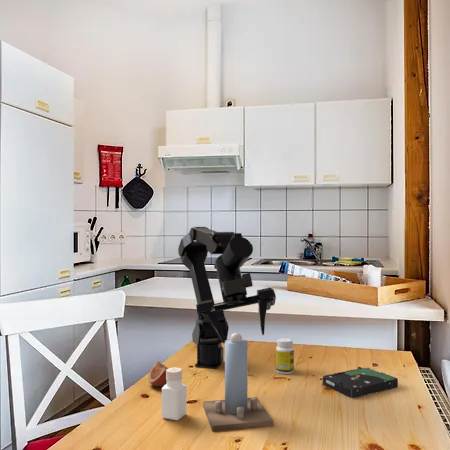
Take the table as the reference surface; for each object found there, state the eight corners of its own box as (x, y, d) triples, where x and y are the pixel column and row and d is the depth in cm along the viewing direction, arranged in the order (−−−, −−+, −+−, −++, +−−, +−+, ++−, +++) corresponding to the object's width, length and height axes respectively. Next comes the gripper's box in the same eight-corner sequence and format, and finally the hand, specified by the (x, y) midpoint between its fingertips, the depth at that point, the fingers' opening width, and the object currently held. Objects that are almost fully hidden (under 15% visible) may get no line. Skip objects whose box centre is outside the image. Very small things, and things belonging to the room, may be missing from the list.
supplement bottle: (293, 375, 118) (293, 342, 118) (275, 374, 119) (274, 341, 119) (294, 369, 122) (294, 338, 122) (276, 368, 123) (276, 337, 123)
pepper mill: (220, 410, 93) (220, 333, 93) (234, 403, 97) (234, 329, 97) (238, 416, 90) (238, 336, 90) (251, 409, 94) (251, 332, 94)
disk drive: (352, 402, 102) (398, 389, 109) (352, 389, 102) (398, 377, 109) (321, 387, 111) (366, 376, 118) (321, 375, 111) (366, 365, 118)
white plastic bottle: (187, 414, 94) (187, 368, 94) (177, 422, 90) (177, 374, 90) (170, 411, 96) (170, 365, 96) (160, 418, 92) (160, 371, 92)
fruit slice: (145, 381, 114) (145, 361, 114) (171, 377, 116) (171, 358, 116) (152, 392, 106) (152, 371, 106) (180, 388, 108) (180, 367, 108)
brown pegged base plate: (202, 406, 98) (202, 392, 98) (257, 401, 100) (257, 388, 100) (212, 431, 86) (212, 415, 86) (273, 425, 89) (273, 410, 89)
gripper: (189, 271, 105) (200, 337, 97) (268, 255, 106) (286, 319, 98) (193, 289, 114) (204, 350, 107) (266, 274, 116) (282, 334, 108)
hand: (243, 338), depth 105 cm, fingers open, 9 cm apart
